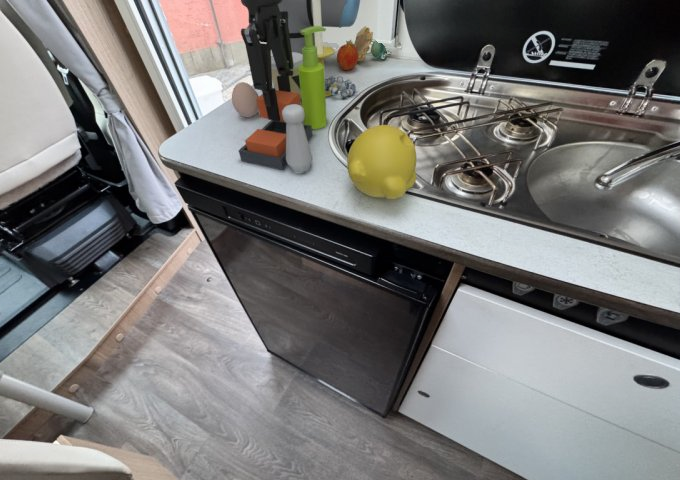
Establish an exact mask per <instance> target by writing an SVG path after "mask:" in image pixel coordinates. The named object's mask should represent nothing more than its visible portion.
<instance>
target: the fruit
mask: <svg viewBox="0 0 680 480" xmlns="http://www.w3.org/2000/svg"><path fill="white" fill-rule="evenodd" d="M347 41H348V40H346V43H347ZM336 62H337V65H338V67H340V68H341V69H342V70H343V71H345V72H347V71H351V70H353V69H354V68H355V67H356V66H357V64H358V62H359V61H358V51H357V49H356V47H355V46H354V45H352V44H348V43H347V44H343V45H341V46H340V47H339V48H338V50H337V54H336Z"/></svg>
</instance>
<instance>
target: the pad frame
mask: <svg viewBox="0 0 680 480" xmlns="http://www.w3.org/2000/svg"><path fill="white" fill-rule="evenodd" d="M303 126H304V129H305V133H306V137H307V140H308V141H309V140H310V139H311V138H312V137H313V129H312V126H311V125H305V124H304V123H303ZM261 130H267V131H272V132H278V133H283V134H286V122H284V121H274V120H269V121H268V122H267V123H266V124H265V125H264V126H263V127H262V128H261ZM238 153H239V157H240V160H241V162H244V163H248V164H254V165H258V166H262V167H267V168H271V169H276V170H280V171H284V170H285V169H286V167H287V166H289V165H288V164H287V161H286V151H285V152H284V153H283V154H282V155H281V156H280V157H276V156H271V155H266V154H261V153H257V152H252V151H248V150H247V146H246V143H245V144H244V145H242V147H241V148H240V149H239V150H238Z"/></svg>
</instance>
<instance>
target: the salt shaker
mask: <svg viewBox="0 0 680 480" xmlns="http://www.w3.org/2000/svg"><path fill="white" fill-rule="evenodd" d="M282 116H283V120H284V122H286V161H287V164H288V165H287V166H289V167H290V169H291V170H292V171H293V172H294V173H299V174H303V173H305V172H307V171H309V170H310V168H311V164H312V162H313V154H312V150H311V147H310V144H309V140H307V137H306V133H305V129H304V126H303V124H304V118H305V113H304V109H303V107H302V106H300V105H297V104H291V105H287V106H286V107H284V109H283V110H282Z"/></svg>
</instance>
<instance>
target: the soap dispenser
mask: <svg viewBox="0 0 680 480" xmlns="http://www.w3.org/2000/svg"><path fill="white" fill-rule="evenodd" d="M326 30H327V28H326V27H320V26H312V27H308V28H305V29H303V30H300V33H301V34H302V35H304V36H305V46H304V47H303V48H302V56H303V64H302V65H300V66H299V67H298V71H299V80H300V89H301V98H302V107H303V109H304V113H305V118H304V120H303V124H305V125H311V126H312V130H320V129H324V127H326V126H327V122H328V121H327V103H326V97H325V82H324V68H325V65H324V66H323V64H321V63H318V55H317V47H315V46H314V45H313V38H312V33H315V32H319V31H322V32H326Z"/></svg>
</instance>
